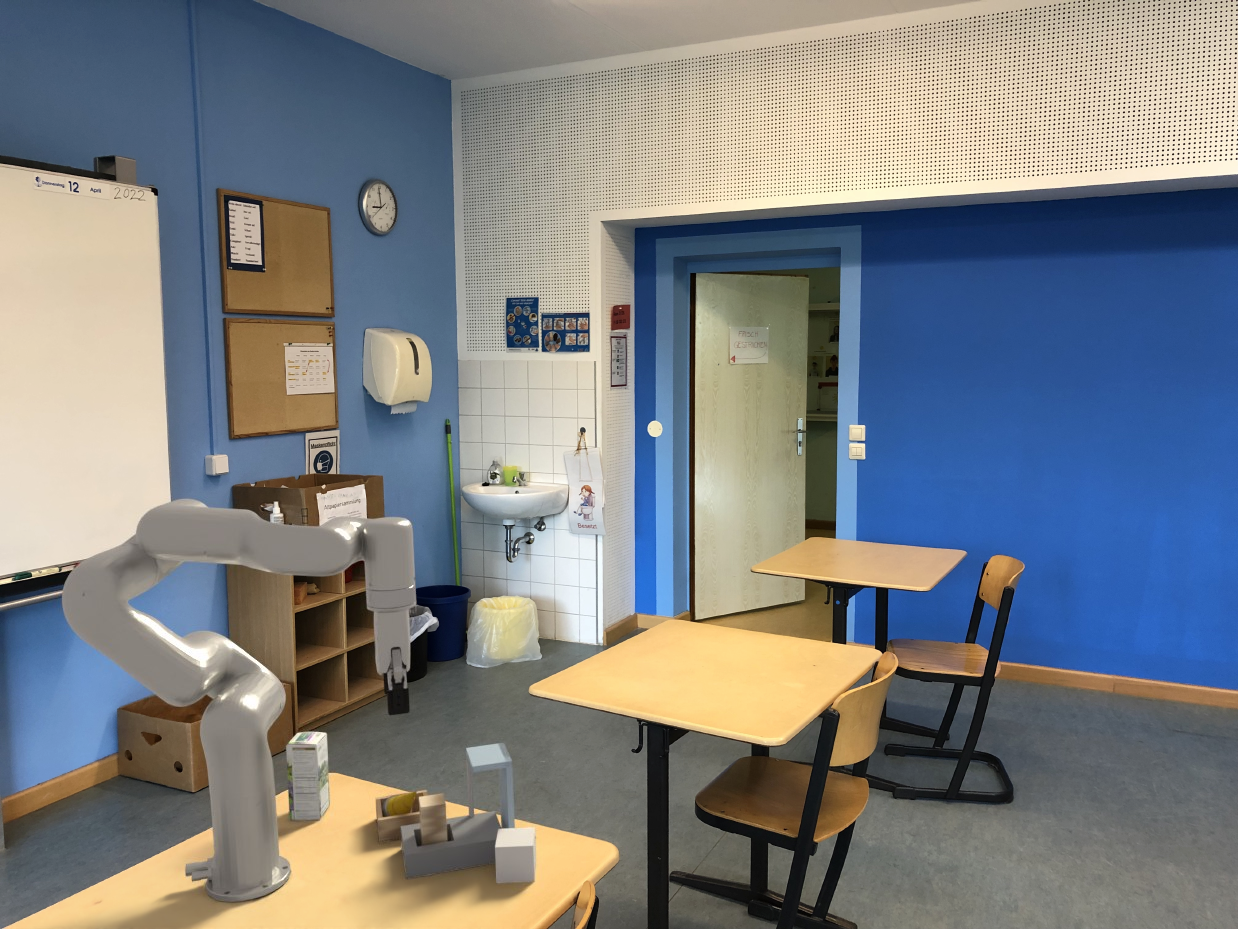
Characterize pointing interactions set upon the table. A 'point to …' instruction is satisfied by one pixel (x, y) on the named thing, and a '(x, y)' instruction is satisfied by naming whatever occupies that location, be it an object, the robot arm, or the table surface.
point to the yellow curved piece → (398, 804)
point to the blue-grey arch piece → (499, 759)
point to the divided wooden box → (396, 818)
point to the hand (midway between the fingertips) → (396, 703)
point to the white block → (515, 855)
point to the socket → (451, 846)
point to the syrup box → (308, 776)
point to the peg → (433, 819)
